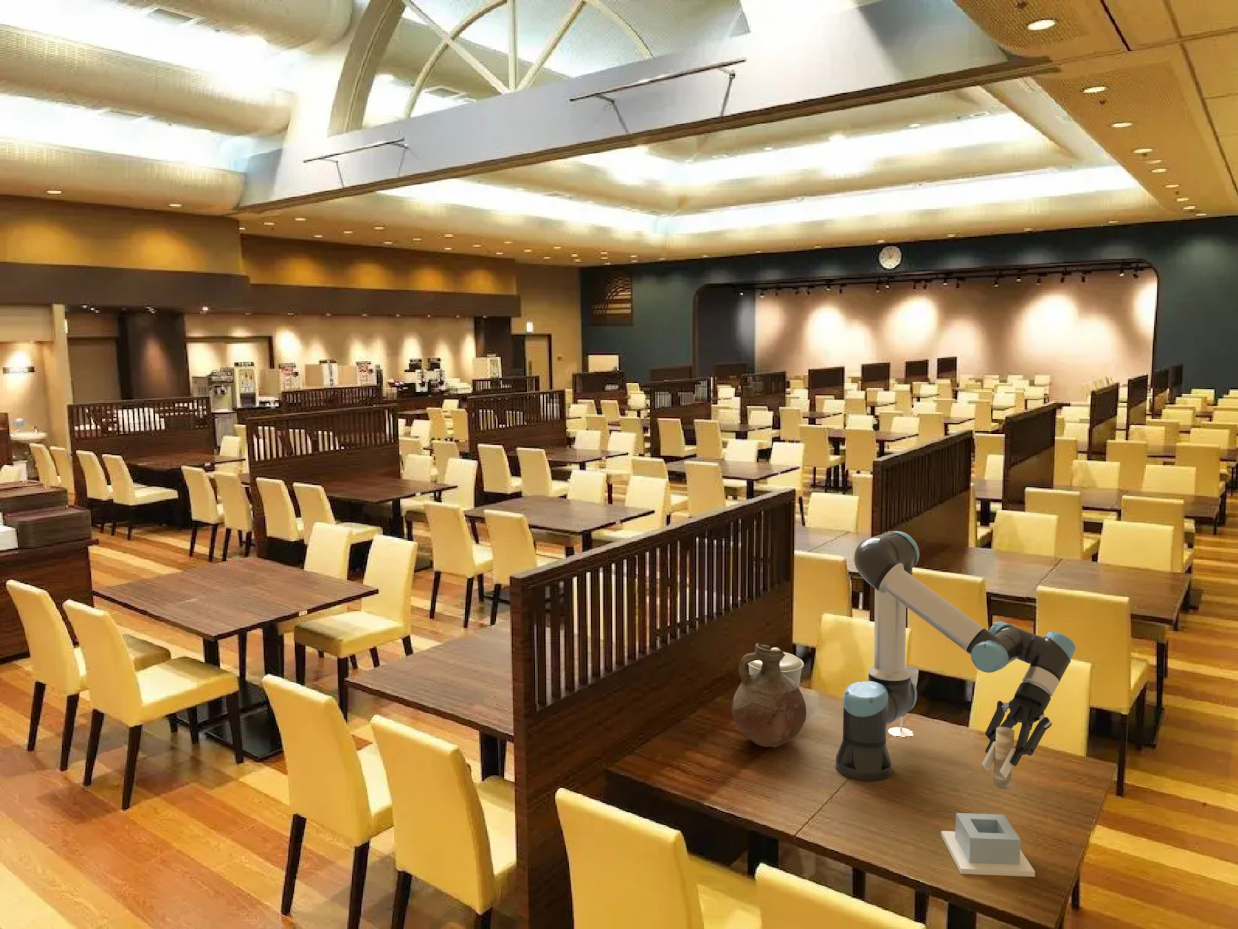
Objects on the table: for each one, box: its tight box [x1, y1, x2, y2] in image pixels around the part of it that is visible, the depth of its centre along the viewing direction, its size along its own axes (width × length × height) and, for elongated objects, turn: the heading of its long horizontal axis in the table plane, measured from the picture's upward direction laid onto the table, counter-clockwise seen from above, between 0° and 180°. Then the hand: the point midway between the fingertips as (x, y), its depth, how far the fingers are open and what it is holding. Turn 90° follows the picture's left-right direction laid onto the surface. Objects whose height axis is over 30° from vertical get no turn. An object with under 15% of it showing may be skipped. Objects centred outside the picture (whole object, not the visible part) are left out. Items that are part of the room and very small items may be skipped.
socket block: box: [940, 812, 1036, 877], centre depth 209 cm, size 16×16×7 cm
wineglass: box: [887, 664, 919, 738], centre depth 275 cm, size 8×9×20 cm
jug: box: [731, 642, 807, 748], centre depth 267 cm, size 22×22×30 cm
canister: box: [747, 646, 805, 687], centre depth 291 cm, size 18×18×21 cm
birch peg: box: [992, 726, 1015, 790], centre depth 218 cm, size 4×4×14 cm
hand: (994, 771), depth 216 cm, fingers closed on birch peg, 4 cm apart
